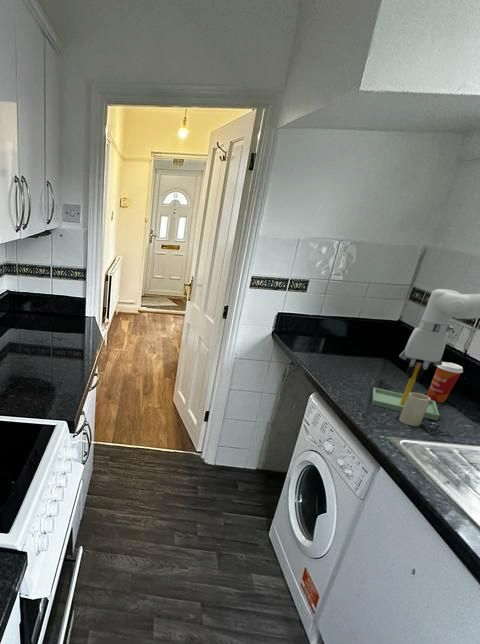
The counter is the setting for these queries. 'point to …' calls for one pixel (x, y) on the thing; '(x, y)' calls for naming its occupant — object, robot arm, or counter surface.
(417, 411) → the pen cup
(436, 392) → the paper cup
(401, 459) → the counter surface
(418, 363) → the pencil
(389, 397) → the tray
